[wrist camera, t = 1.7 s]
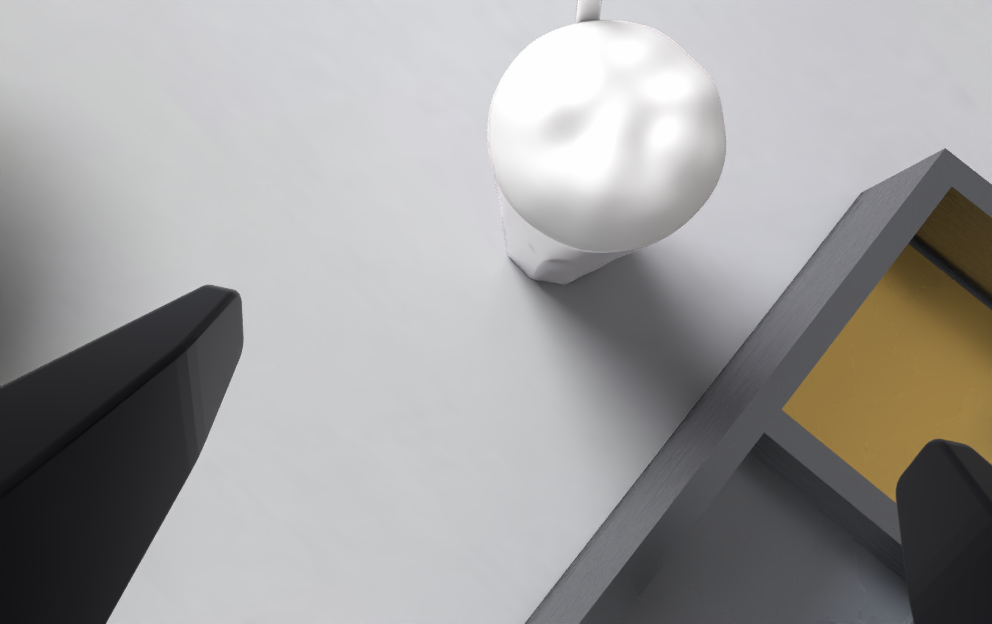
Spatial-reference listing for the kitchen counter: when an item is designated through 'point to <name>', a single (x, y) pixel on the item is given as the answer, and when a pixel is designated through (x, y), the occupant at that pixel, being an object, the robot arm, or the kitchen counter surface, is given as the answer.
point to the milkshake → (600, 144)
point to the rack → (813, 430)
